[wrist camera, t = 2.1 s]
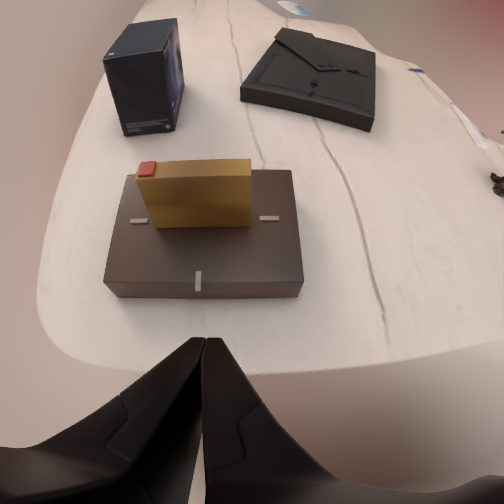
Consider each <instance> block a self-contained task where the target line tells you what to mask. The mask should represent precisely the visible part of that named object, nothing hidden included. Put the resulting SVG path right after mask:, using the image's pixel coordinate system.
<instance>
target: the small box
mask: <svg viewBox="0 0 504 504" xmlns="http://www.w3.org/2000/svg"><path fill="white" fill-rule="evenodd" d="M102 61H103V64H104V68H105V72H106V75H107V79H108V83H109V86H110V90H111V93H112V97H113V99H114V103H115V106H116V109H117V113H118V116H119V120H120V124H121V127H122V131H123V134H124V136H129V135H136V134H144V133H154V132H166V131H173V130H175V126H176V121H177V116H178V111H179V106H180V102H181V97H182V93H183V88H184V76H183V68H182V60H181V51H180V42H179V33H178V24H177V18H171V19H163V20H155V21H147V22H140V23H134V24H129V25H128V26H127V27H126V29H125V30H124V31H123V33H122V34H121V35H120V36H119V38H118V39H117V40H116V41H115V43H114V44H113V45H112V47H111V48H110V49H109V51H108V52H107V53H106V55H105V56H104V58H103V59H102Z"/></svg>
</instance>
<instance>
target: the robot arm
mask: <svg viewBox="0 0 504 504" xmlns="http://www.w3.org/2000/svg"><path fill="white" fill-rule="evenodd" d="M202 433H203V452H204V468H205V484H206V496H205V504H504V476H496V475H486V476H482V477H480V478H477V479H475V480H472V481H470V482H468V483H466V484H464V485H461V486H459V487H456V488H453V489H450V490H445V491H441V492H431V493H419V492H408V491H401V490H394V489H386V488H381V487H375V486H369V485H364V484H359V483H354V482H349V481H345V480H343V479H340V478H339V477H337V476H335V475H333V474H332V473H330V472H329V471H328V470H326V469H325V468H324V467H323V466H322V465H321V464H319V462H318V461H316V460H315V459H314V458H313V457H312V456H311V455H310V454H309V453H308V452H307V451H306V450H305V449H304V448H303V447H302V446H301V445H299V444H298V442H296V441H295V440H294V439H293V438H292V437H291V436H290V435H289V433H288V432H286V430H285V429H284V428H283V427H282V426H281V425H280V424H279V423H278V421H277V420H276V419H275V417H274V416H273V415H272V414H271V412H270V411H269V409H268V408H267V407H266V405H265V404H264V403H263V402H262V399H261V398H260V397H259V395H258V394H257V392H256V391H255V389H254V388H253V386H252V385H251V383H250V382H249V380H248V379H247V377H246V376H245V374H244V372H243V371H242V369H241V368H240V366H239V365H238V363H237V362H236V360H235V359H234V357H233V355H232V354H231V352H230V351H229V349H228V348H227V346H226V344H225V343H224V341H223V340H222V338H207V339H206V338H203V337H192V338H190V339H189V340H188V341H186V342H185V343H184V344H183V345H181V346H180V347H179V348H177V349H176V350H175V351H174V352H172V353H171V354H170V355H169V356H167V357H166V358H165V359H164V360H162V361H161V362H160V363H158V364H157V365H156V366H155V367H153V368H152V369H151V370H150V371H148V372H147V373H146V374H144V375H143V376H142V377H141V378H139V379H138V380H137V381H135V382H134V383H133V384H131V385H130V386H129V387H128V388H126V389H125V390H124V391H122V392H121V393H120V396H119V395H117V396H116V397H114V398H113V399H112V400H110V401H109V402H108V403H106V404H105V405H104V406H102V407H101V408H99V409H98V410H97V411H95V412H94V413H92V414H91V415H89V416H87V417H86V418H84V419H83V420H81V421H79V422H78V423H76V424H74V425H72V426H71V427H69V428H67V429H65V430H63V431H62V432H60V433H58V434H56V435H55V436H53V437H51V438H49V439H47V440H46V441H44V442H42V443H40V444H38V445H35V446H32V447H27V448H8V447H0V504H188V499H189V494H190V489H191V483H192V479H193V474H194V469H195V464H196V459H197V454H198V449H199V444H200V439H201V434H202Z"/></svg>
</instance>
